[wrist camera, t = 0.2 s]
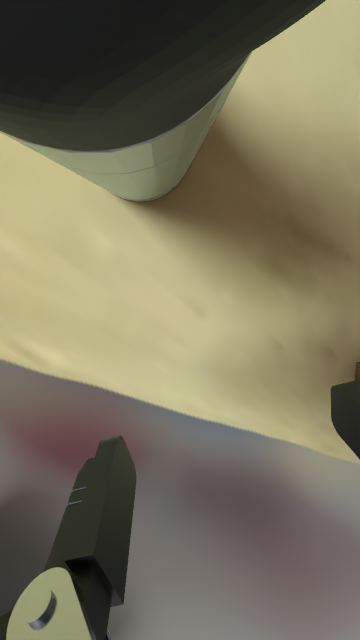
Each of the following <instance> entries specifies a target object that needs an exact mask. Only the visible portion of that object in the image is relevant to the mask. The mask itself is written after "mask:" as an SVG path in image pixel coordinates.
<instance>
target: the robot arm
mask: <svg viewBox="0 0 360 640" xmlns="http://www.w3.org/2000/svg"><path fill="white" fill-rule="evenodd" d="M324 1H325V0H0V132H1V133H3V134H5V135H6V136H8V137H10V138H12V139H14V140H16V141H17V142H19V143H21V144H23V145H25V146H27V147H28V148H30V149H32V150H34V151H36V152H38V153H39V154H42V155H44V156H46V157H47V158H49V159H51V160H53V161H55V162H56V163H58V164H60V165H62V166H64V167H66V168H67V169H69V170H71V171H73V172H75V173H76V174H78V175H80V176H82V177H84V178H86V179H87V180H89V181H91V182H93V183H95V184H96V185H98V186H100V187H102V188H104V189H105V190H107V191H109V192H111V193H113V194H115V195H117V196H118V197H121V198H124V199H127V200H130V201H140V202H143V201H150V200H154V199H157V198H159V197H162V196H164V195H165V194H167V193H168V192H170V191H171V190H172V189H173V188H174V187H175V186H176V185H177V184H178V183H179V182H180V181H181V179H182V177H183V176H184V174H185V173H186V171H187V169H188V168H189V166H190V164H191V162H192V161H193V159H194V157H195V155H196V153H197V151H198V150H199V148H200V146H201V144H202V142H203V141H204V139H205V137H206V135H207V133H208V132H209V130H210V128H211V126H212V124H213V123H214V121H215V119H216V117H217V115H218V113H219V112H220V110H221V108H222V106H223V104H224V102H225V100H226V98H227V96H228V95H229V93H230V91H231V89H232V87H233V85H234V84H235V82H236V80H237V78H238V76H239V75H240V73H241V71H242V69H243V67H244V65H245V64H246V62H247V60H248V58H249V56H250V55H251V53H252V51H253V50H255V49H256V48H258V47H260V46H261V45H263V44H264V43H266V42H268V41H269V40H271V39H272V38H274V37H275V36H277V35H278V34H280V33H281V32H283V31H284V30H285V29H287V28H288V27H290V26H291V25H293V24H294V23H296V22H297V21H299V20H300V19H301V18H303V17H304V16H305V15H307V14H308V13H310V12H311V11H312V10H314V9H315V8H316V7H318V6H319V5H320V4H322V3H323V2H324ZM331 418H332V422H333V425H334V428H335V429H336V431H337V433H338V434H339V436H340V437H341V438H342V439H343V440H344V441H345V443H346V444H347V445H348V446H349V447H350V448H351V450H352V451H353V452H354V453H355V454H356V455H357V456H358V458H359V459H360V384H359V383H358V382H355V381H352V382H347V383H343V384H339V385H335V386H332V388H331ZM135 488H136V470H135V465H134V462H133V460H132V458H131V455H130V453H129V450H128V448H127V446H126V443H125V441H124V439H123V437H122V436H118V437H113V438H109V439H105V440H101V441H100V443H99V446H98V449H97V452H96V456H95V458H91V459H88V460H87V461H86V463H85V464H84V466H83V467H82V469H81V470H80V472H79V473H78V475H77V478H76V481H75V484H74V487H73V492H72V493H71V495H70V498H69V501H68V506H67V507H66V510H65V512H64V515H63V518H62V521H61V524H60V527H59V530H58V533H57V535H56V538H55V541H54V544H53V547H52V550H51V553H50V556H49V559H48V561H47V564H46V566H45V569H44V571H43V573H42V574H40V575H39V576H38V577H37V578H35V579H34V580H33V581H32V582H31V583H30V584H29V586H28V587H27V588H26V589H25V591H24V592H23V593H22V595H21V596H20V598H19V600H18V601H17V603H16V605H15V607H14V608H13V609H12V610H10V611H9V612H8V613H6V614H4V615H3V616H1V617H0V640H112V639H111V636H110V634H109V631H108V629H107V626H108V619H109V612H110V607H112V606H117V605H121V604H123V603H124V593H125V583H126V574H127V565H128V555H129V546H130V536H131V526H132V517H133V508H134V498H135Z"/></svg>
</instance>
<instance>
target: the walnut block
mask: <svg viewBox="0 0 360 640" xmlns="http://www.w3.org/2000/svg"><path fill="white" fill-rule="evenodd" d="M355 382H358V383H359V384H360V362H358V363H356V375H355Z"/></svg>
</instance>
